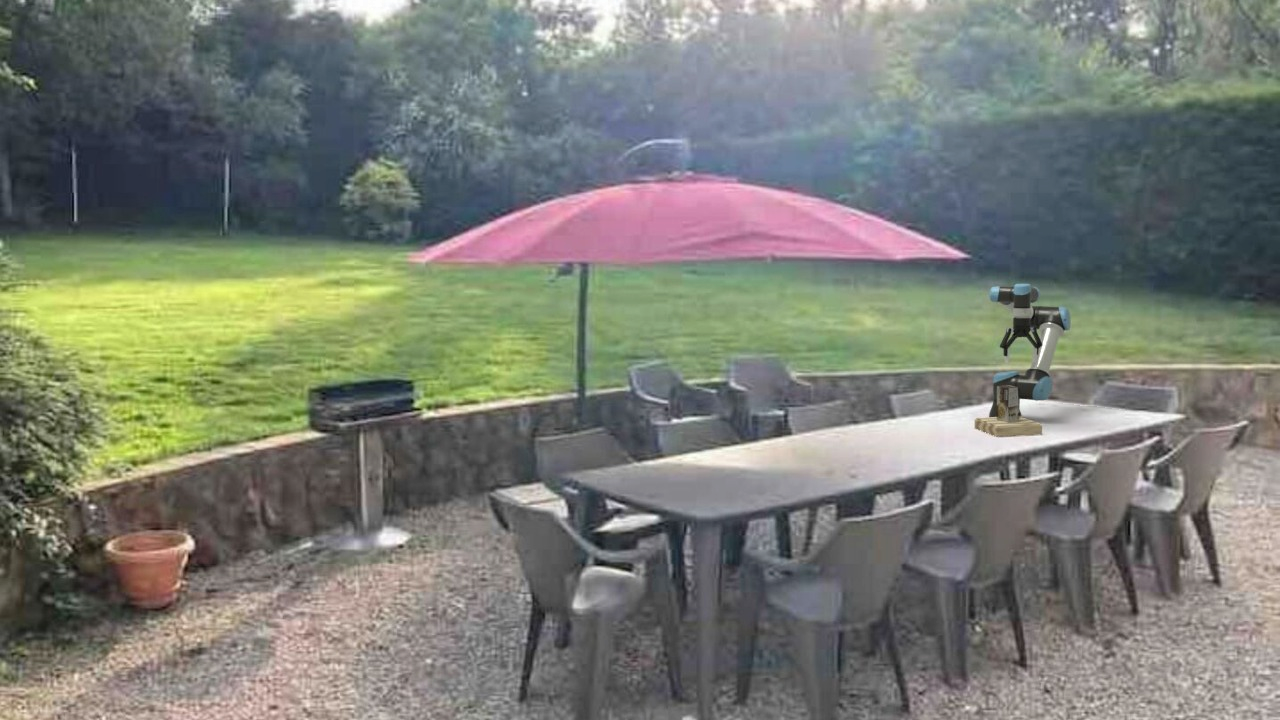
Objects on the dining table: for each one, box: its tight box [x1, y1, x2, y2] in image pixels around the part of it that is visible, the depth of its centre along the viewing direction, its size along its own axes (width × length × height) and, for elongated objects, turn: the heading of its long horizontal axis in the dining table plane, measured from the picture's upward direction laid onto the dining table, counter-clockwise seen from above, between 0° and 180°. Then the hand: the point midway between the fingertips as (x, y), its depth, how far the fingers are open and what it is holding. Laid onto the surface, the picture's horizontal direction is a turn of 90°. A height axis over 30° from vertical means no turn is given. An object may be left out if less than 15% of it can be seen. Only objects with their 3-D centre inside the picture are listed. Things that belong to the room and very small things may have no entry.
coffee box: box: [997, 385, 1021, 422], centre depth 509 cm, size 9×6×16 cm
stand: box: [974, 416, 1043, 438], centre depth 511 cm, size 22×22×5 cm
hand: (1020, 362), depth 516 cm, fingers open, 13 cm apart
